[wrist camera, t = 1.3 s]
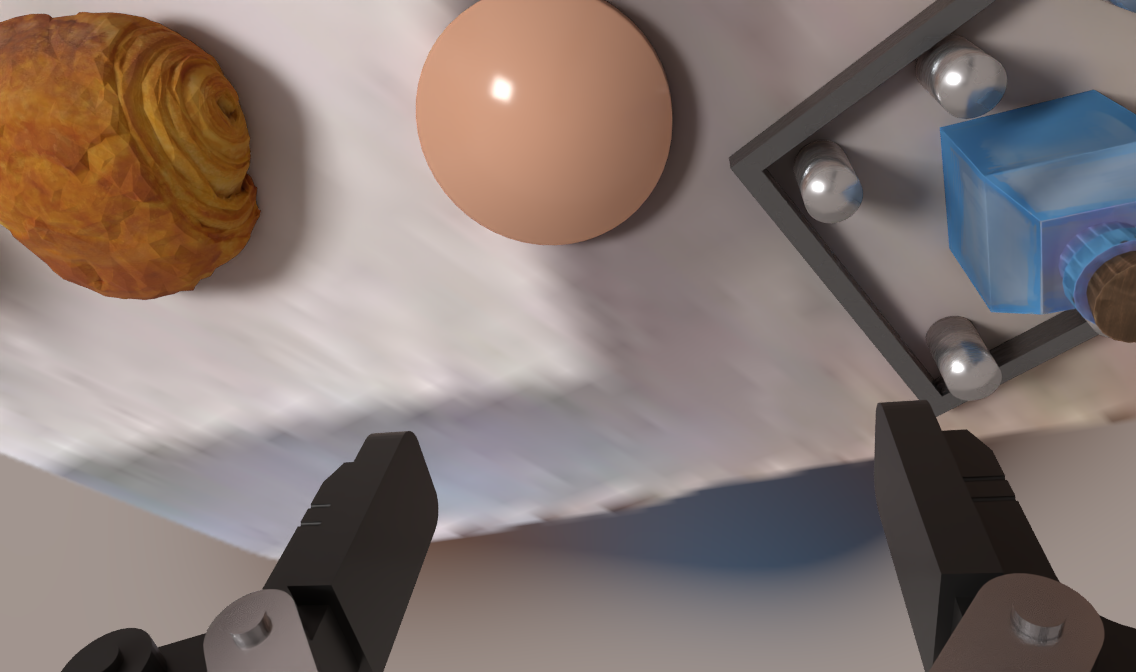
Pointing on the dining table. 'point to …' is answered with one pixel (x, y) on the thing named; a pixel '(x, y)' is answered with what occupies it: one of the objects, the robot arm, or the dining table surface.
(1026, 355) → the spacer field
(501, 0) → the peach round disc
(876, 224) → the dining table surface
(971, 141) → the perfume bottle
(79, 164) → the croissant
